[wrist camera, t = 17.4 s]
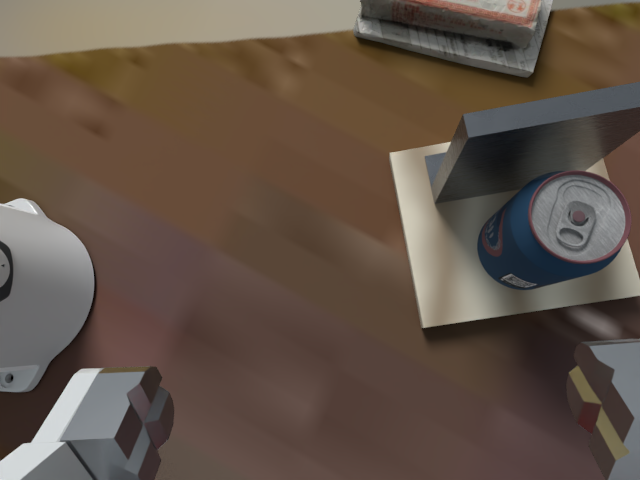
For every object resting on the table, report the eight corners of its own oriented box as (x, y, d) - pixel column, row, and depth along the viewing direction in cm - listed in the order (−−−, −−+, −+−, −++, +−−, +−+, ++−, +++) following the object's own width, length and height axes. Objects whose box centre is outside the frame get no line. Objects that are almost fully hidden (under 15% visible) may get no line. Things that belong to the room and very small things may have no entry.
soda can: (490, 199, 39) (542, 144, 27) (569, 230, 38) (659, 185, 26) (461, 271, 38) (502, 245, 27) (541, 305, 37) (621, 293, 25)
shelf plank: (421, 327, 39) (423, 327, 38) (389, 159, 42) (389, 153, 41) (633, 296, 38) (644, 294, 36) (582, 124, 41) (590, 117, 40)
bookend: (434, 204, 40) (468, 137, 26) (424, 157, 41) (452, 69, 27) (572, 180, 39) (682, 98, 25) (558, 133, 40) (658, 30, 26)
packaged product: (349, 7, 41) (382, -81, 43) (351, 40, 46) (380, -40, 48) (547, 52, 38) (575, -44, 40) (528, 82, 43) (553, -5, 45)
